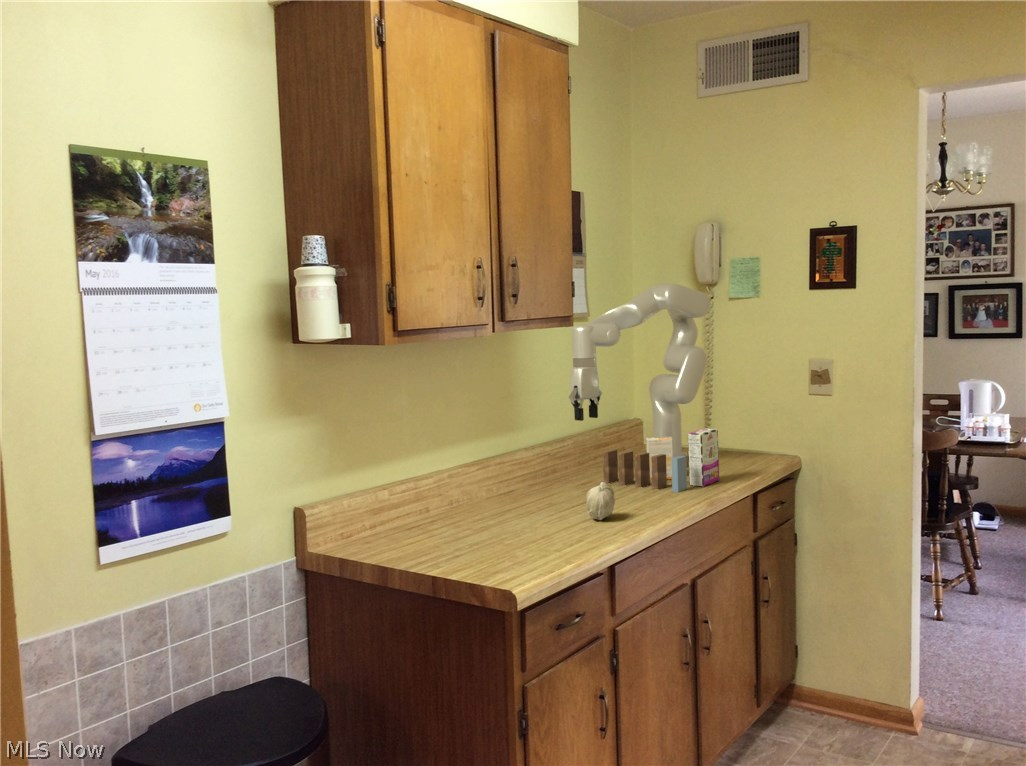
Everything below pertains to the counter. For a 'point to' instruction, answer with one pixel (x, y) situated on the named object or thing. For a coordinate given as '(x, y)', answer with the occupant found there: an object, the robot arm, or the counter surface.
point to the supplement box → (661, 451)
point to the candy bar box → (703, 457)
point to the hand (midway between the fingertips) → (586, 418)
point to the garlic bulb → (600, 501)
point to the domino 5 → (679, 473)
